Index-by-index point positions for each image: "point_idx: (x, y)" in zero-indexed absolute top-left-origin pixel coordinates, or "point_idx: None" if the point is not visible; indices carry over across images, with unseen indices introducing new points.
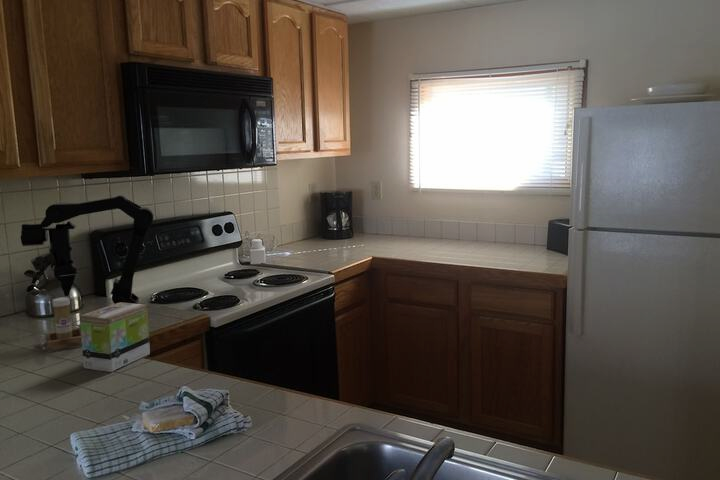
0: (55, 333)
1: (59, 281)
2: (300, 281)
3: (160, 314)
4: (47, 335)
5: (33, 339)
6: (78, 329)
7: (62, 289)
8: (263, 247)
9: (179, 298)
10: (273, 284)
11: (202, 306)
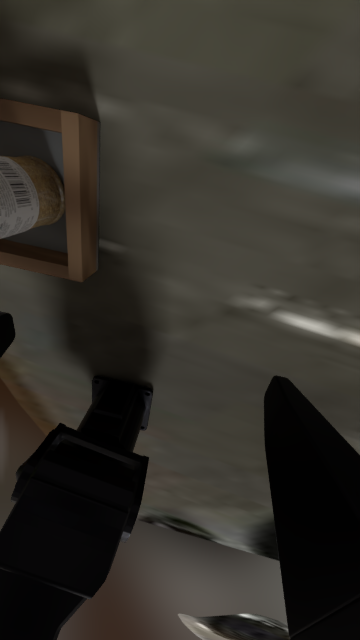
0: (65, 166)
1: (335, 451)
2: (210, 626)
3: (184, 475)
4: (33, 114)
5: (206, 73)
6: (63, 265)
7: (277, 380)
8: None
9: None
10: (229, 616)
11: (179, 529)
